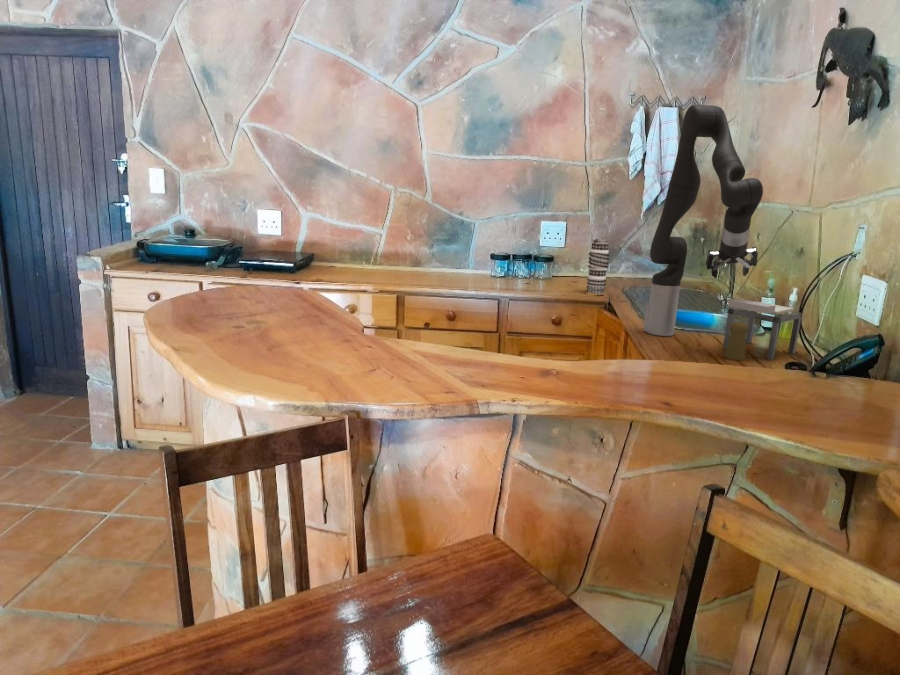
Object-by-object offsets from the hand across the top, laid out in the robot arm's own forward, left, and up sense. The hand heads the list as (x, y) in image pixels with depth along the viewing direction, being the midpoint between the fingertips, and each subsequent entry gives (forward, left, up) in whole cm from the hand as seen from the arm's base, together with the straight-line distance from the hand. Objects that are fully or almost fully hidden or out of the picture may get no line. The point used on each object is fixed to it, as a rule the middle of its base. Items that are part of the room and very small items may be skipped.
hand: (729, 275), depth 203 cm
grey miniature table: (+10, +7, -23) cm, 26 cm away
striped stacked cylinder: (-82, +39, -24) cm, 94 cm away
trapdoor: (+10, +4, -10) cm, 14 cm away
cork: (+10, -8, -24) cm, 27 cm away
